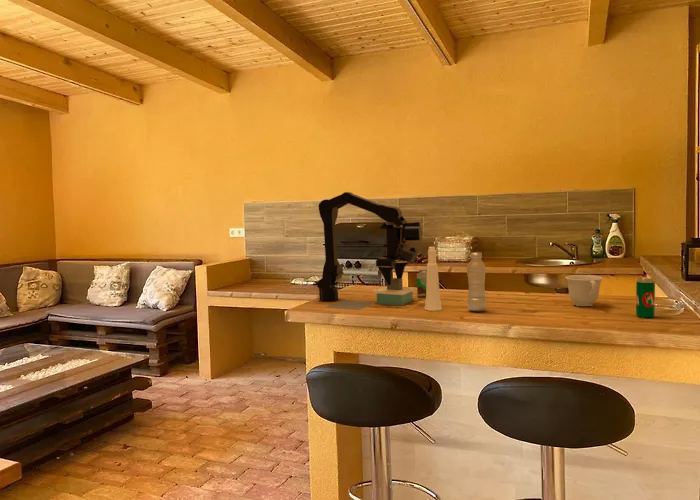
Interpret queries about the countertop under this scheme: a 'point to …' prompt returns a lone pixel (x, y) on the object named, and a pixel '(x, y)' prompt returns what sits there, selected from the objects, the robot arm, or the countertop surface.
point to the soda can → (645, 297)
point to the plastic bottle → (476, 283)
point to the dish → (394, 299)
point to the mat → (351, 304)
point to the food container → (421, 283)
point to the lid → (395, 288)
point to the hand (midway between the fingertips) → (394, 283)
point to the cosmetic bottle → (432, 283)
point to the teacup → (583, 289)
